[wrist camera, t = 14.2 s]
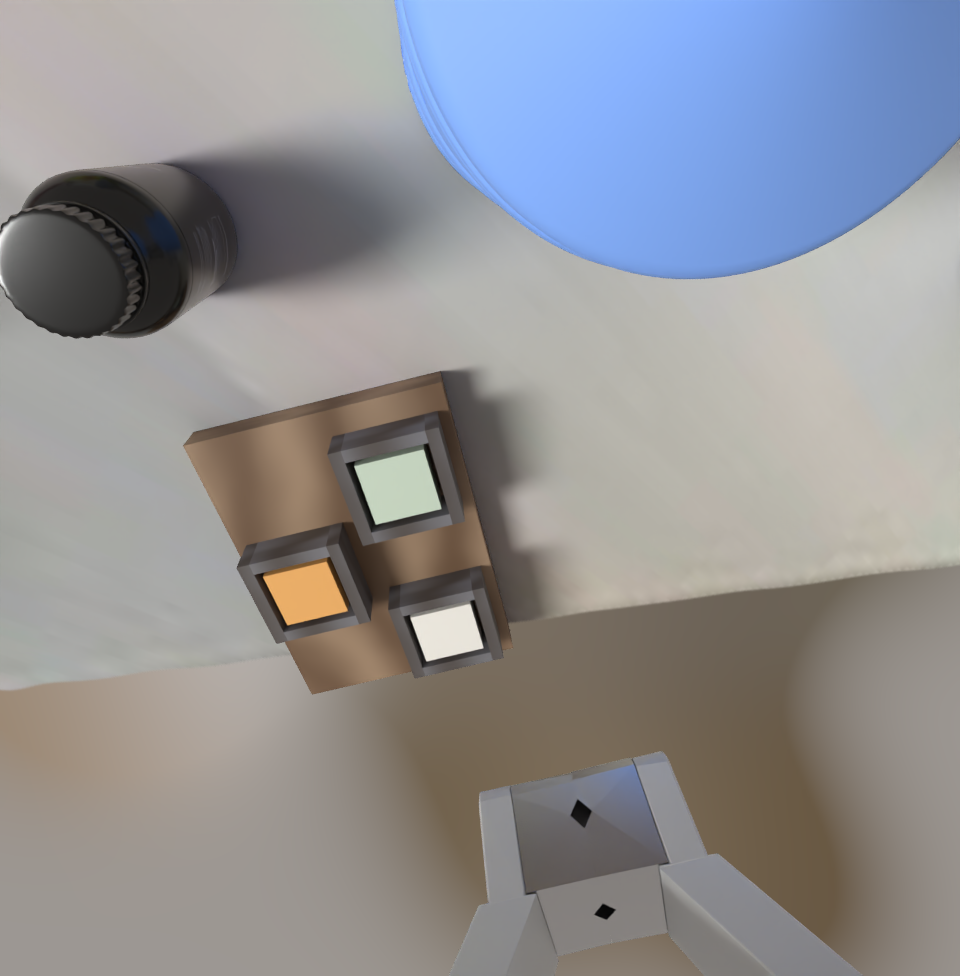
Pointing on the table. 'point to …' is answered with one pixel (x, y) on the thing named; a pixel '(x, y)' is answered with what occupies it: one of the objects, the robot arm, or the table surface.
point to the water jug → (687, 118)
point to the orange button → (307, 590)
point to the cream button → (448, 630)
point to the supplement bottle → (116, 250)
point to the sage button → (399, 484)
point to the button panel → (354, 528)
